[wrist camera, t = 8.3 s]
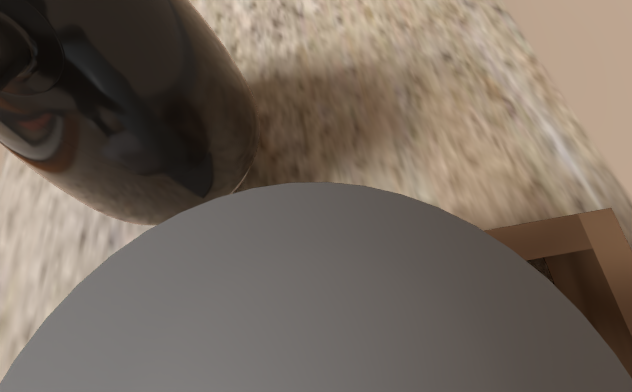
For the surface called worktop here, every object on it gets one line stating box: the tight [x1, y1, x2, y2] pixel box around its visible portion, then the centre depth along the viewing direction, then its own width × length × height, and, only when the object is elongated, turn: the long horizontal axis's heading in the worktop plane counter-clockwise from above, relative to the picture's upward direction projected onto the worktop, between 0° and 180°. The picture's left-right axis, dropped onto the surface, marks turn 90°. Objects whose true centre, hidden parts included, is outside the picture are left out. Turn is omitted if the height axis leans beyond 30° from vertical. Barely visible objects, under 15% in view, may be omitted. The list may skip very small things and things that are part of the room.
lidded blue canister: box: [0, 182, 632, 392], centre depth 8 cm, size 6×6×12 cm
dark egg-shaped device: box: [0, 0, 260, 225], centre depth 13 cm, size 10×10×15 cm
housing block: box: [484, 208, 632, 378], centre depth 16 cm, size 10×10×4 cm
